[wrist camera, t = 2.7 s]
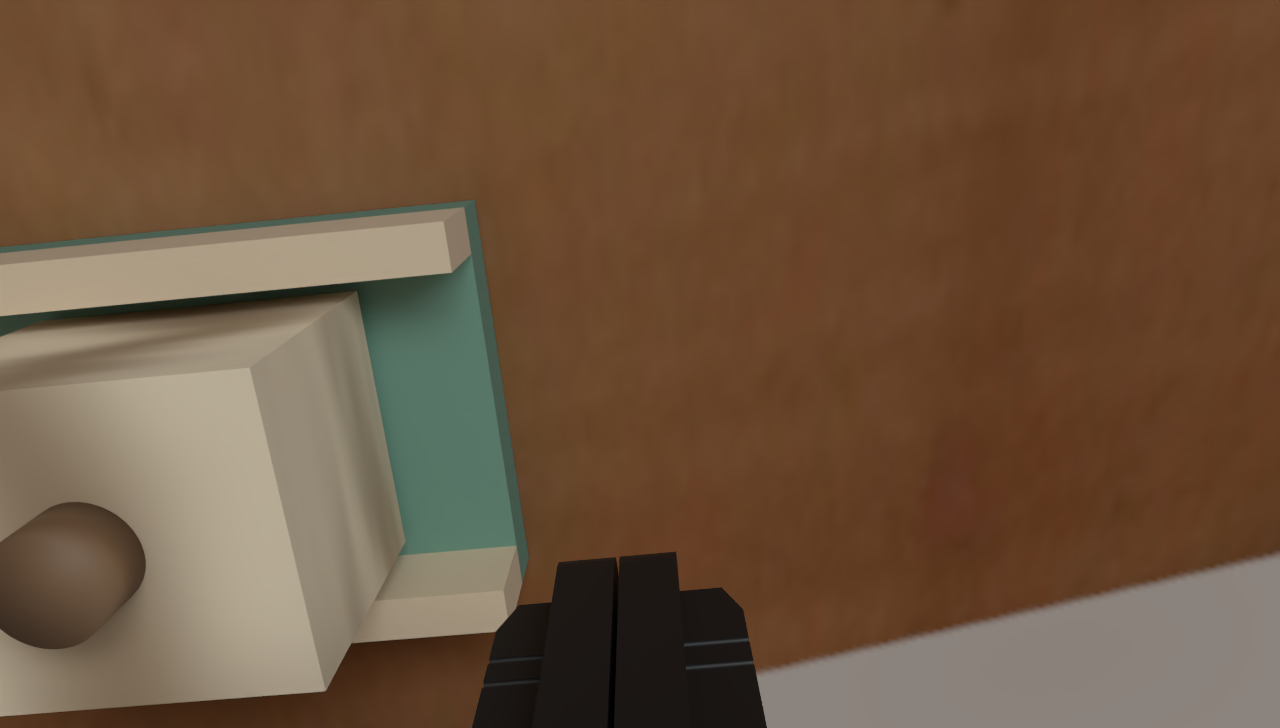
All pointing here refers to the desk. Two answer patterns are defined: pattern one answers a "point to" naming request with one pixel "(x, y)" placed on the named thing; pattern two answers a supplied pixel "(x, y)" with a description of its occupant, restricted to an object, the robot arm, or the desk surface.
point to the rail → (401, 363)
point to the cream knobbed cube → (189, 503)
